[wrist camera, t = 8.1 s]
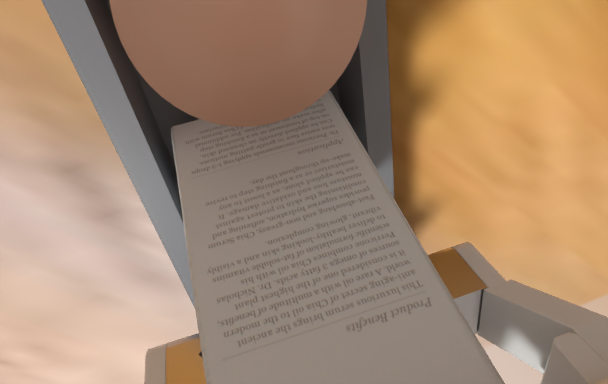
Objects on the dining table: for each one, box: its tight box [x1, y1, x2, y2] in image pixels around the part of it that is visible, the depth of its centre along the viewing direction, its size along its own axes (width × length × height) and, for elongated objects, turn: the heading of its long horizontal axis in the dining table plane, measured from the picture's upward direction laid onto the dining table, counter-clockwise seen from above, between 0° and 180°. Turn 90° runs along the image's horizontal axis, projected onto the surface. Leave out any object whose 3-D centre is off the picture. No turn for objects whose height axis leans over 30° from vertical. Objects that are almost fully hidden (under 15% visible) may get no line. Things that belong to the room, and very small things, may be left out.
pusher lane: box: [42, 0, 394, 307], centre depth 17 cm, size 10×24×7 cm, turn 9°
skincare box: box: [171, 90, 505, 384], centre depth 13 cm, size 6×4×12 cm
